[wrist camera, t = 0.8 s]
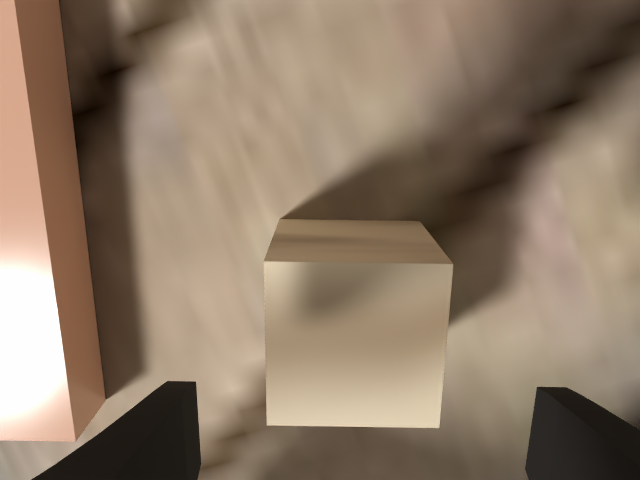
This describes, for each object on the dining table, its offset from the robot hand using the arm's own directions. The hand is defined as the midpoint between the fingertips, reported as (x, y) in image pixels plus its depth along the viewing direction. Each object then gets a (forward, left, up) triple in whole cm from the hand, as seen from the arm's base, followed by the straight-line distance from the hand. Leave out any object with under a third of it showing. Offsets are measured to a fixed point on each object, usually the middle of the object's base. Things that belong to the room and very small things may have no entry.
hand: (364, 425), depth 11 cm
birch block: (0, 0, -8) cm, 8 cm away
